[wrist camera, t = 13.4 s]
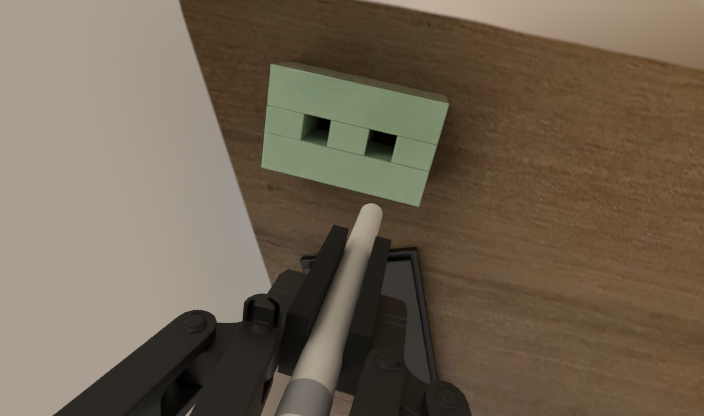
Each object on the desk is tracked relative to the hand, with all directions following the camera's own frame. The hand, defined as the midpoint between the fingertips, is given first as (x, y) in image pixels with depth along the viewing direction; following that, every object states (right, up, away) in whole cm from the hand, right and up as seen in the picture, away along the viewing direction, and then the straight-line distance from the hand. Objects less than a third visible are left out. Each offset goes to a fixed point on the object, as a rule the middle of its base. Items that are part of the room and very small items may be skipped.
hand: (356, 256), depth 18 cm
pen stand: (0, +10, +15) cm, 18 cm away
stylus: (+1, +2, +5) cm, 6 cm away
